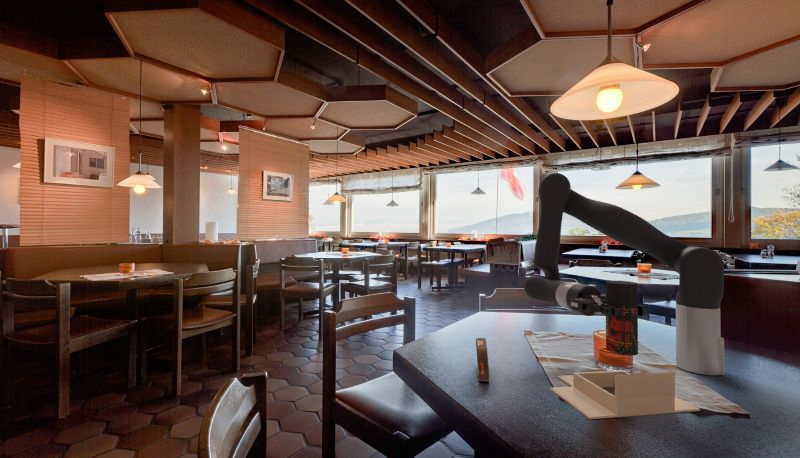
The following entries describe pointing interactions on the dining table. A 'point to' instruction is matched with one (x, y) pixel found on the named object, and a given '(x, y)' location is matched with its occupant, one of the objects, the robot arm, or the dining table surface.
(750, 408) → the dining table surface
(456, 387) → the dining table surface
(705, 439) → the dining table surface
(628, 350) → the deodorant
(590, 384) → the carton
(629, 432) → the dining table surface
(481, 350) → the thin brown box
